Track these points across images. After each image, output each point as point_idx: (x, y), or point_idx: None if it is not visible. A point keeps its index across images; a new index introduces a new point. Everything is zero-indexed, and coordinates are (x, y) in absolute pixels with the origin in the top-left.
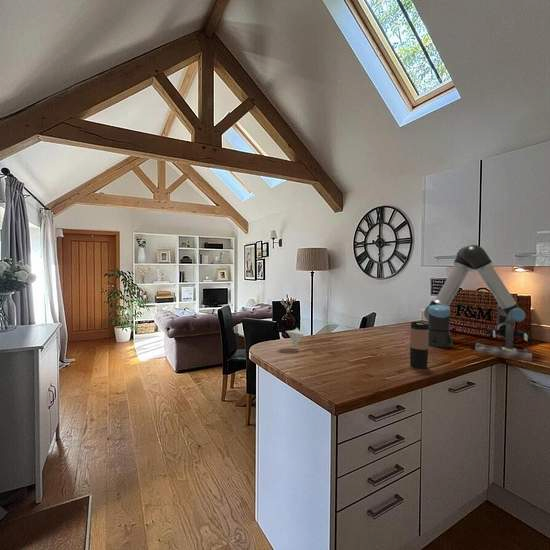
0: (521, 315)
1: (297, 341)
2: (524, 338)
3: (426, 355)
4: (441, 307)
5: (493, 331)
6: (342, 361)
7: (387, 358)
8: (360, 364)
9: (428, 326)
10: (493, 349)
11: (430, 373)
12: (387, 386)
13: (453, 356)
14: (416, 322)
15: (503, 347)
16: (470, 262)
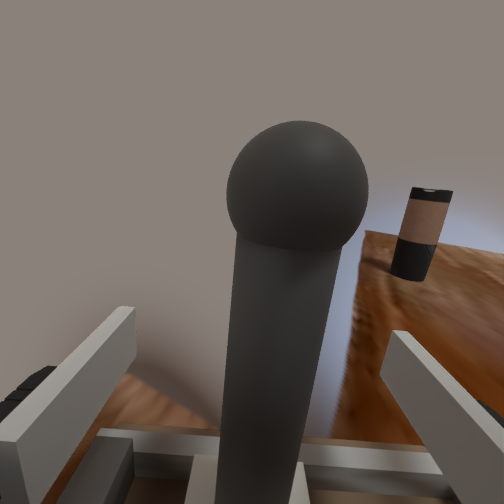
0: None
1: None
2: (89, 415)
3: (395, 248)
4: None
5: (444, 370)
6: (483, 267)
7: (484, 289)
8: (456, 265)
9: (412, 192)
10: (358, 451)
11: (367, 261)
12: (367, 241)
13: (444, 355)
14: (450, 192)
15: None
16: None
